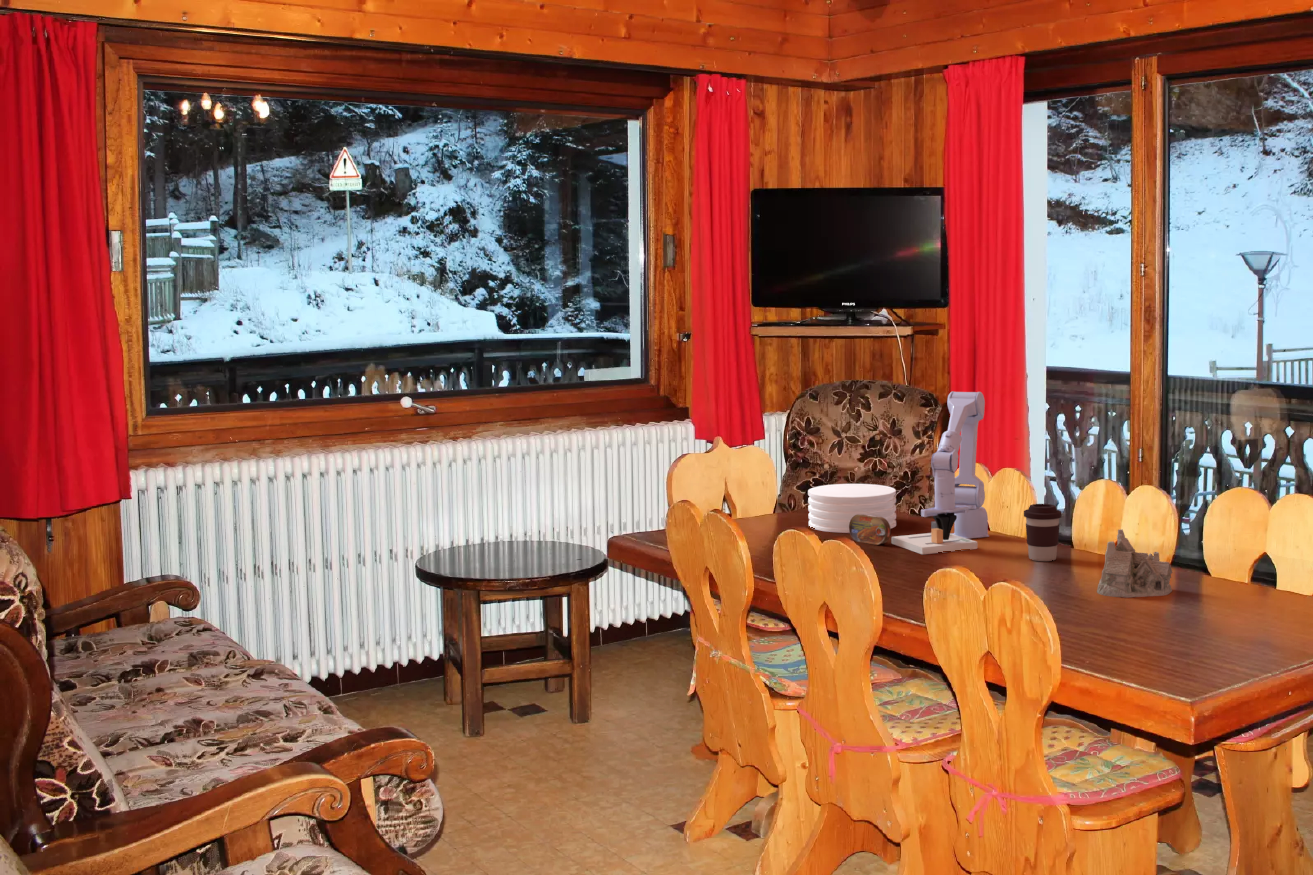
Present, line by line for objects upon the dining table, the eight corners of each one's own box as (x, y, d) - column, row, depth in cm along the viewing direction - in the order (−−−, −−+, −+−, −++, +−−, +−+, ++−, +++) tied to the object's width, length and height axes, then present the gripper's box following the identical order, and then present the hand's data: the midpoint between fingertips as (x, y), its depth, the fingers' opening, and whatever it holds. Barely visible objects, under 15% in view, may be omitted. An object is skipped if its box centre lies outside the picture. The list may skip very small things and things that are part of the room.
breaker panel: (944, 538, 385) (944, 531, 385) (977, 548, 368) (977, 541, 368) (891, 543, 380) (891, 536, 380) (922, 554, 363) (922, 547, 363)
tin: (848, 540, 387) (848, 512, 386) (855, 538, 389) (855, 511, 388) (885, 547, 375) (884, 519, 374) (892, 545, 377) (892, 517, 376)
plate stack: (801, 532, 403) (800, 496, 402) (816, 516, 430) (816, 483, 428) (890, 534, 395) (890, 497, 394) (900, 518, 422) (900, 484, 420)
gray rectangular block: (937, 533, 382) (937, 520, 381) (942, 535, 379) (942, 522, 378) (931, 534, 381) (931, 521, 381) (936, 535, 378) (936, 523, 378)
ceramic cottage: (1087, 592, 312) (1093, 532, 310) (1117, 583, 324) (1122, 525, 322) (1150, 606, 301) (1156, 543, 299) (1178, 595, 313) (1184, 535, 311)
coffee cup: (1063, 563, 346) (1063, 508, 344) (1025, 562, 348) (1025, 508, 346) (1059, 555, 356) (1059, 502, 354) (1022, 555, 358) (1022, 502, 356)
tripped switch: (937, 541, 370) (937, 528, 370) (942, 542, 368) (942, 529, 367) (931, 541, 370) (931, 528, 369) (936, 543, 367) (936, 530, 366)
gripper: (929, 496, 362) (930, 543, 363) (974, 492, 366) (974, 539, 368) (917, 493, 368) (917, 539, 370) (961, 489, 373) (961, 535, 374)
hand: (945, 539), depth 369 cm, fingers closed
